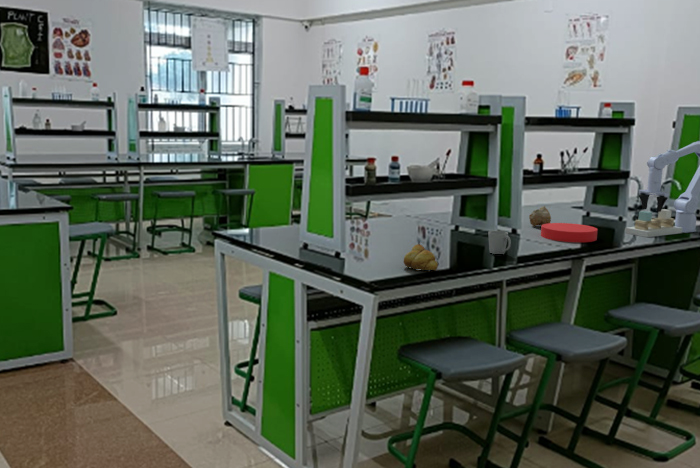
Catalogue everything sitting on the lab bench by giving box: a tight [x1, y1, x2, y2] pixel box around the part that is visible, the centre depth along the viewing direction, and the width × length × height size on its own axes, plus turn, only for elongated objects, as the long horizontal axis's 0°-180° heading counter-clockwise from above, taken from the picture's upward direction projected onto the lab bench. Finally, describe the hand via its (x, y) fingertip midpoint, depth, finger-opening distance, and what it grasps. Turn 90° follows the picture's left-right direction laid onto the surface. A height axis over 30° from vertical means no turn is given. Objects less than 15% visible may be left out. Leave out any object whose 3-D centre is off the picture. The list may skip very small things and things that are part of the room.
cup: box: [488, 230, 512, 255], centre depth 259 cm, size 8×10×8 cm
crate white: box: [657, 208, 672, 219], centre depth 317 cm, size 4×4×4 cm
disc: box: [540, 222, 598, 243], centre depth 299 cm, size 24×5×24 cm
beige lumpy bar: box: [634, 217, 675, 230], centre depth 314 cm, size 22×5×4 cm, turn 121°
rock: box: [528, 206, 552, 227], centre depth 326 cm, size 12×10×10 cm
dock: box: [624, 225, 683, 238], centre depth 314 cm, size 26×12×2 cm, turn 121°
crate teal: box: [637, 210, 653, 221], centre depth 309 cm, size 4×4×4 cm
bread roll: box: [403, 243, 439, 271], centre depth 231 cm, size 13×10×8 cm
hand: (651, 210), depth 317 cm, fingers open, 7 cm apart
